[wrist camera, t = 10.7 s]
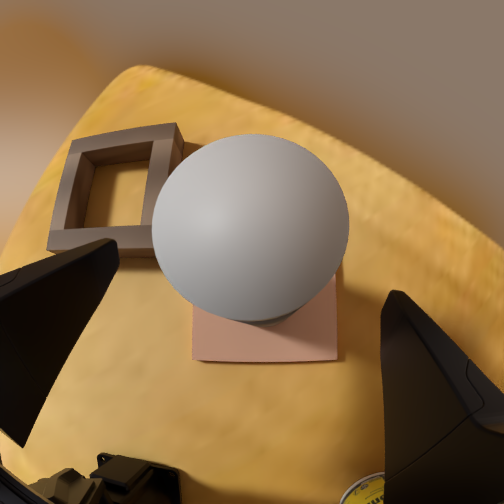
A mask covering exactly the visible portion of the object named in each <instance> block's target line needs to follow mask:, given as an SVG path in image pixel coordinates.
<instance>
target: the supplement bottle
mask: <svg viewBox="0 0 504 504" xmlns="http://www.w3.org/2000/svg"><path fill="white" fill-rule="evenodd" d="M384 475H385V472H379V473H374V474H371V475H368V476H366V477H364V478H362V479H360V480H358V481H357V482H355V483H354V484H353V485H352V486H350V487H349V488H348V490H347V491H346V492H345V493H344V495H343V496H342V498H341V501H340V504H383V495H384V483H385V482H384Z"/></svg>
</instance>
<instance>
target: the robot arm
mask: <svg viewBox="0 0 504 504" xmlns="http://www.w3.org/2000/svg"><path fill="white" fill-rule="evenodd" d="M119 264H120V258H119V252H118V245H117V242H116V240H114V239H110V238H103V239H100V240H97V241H94V242H91V243H88V244H85V245H82V246H79V247H76V248H73V249H70V250H67V251H64V252H62V253H59V254H56V255H53V256H50V257H48V258H45V259H42V260H39V261H37V262H34V263H31V264H29V265H26V266H23V267H22V268H18V269H16V270H13V271H10V272H8V273H5V274H2V275H0V431H1V432H2V433H3V434H5V435H6V436H7V437H8V438H10V439H11V440H12V441H13V442H15V443H16V444H17V445H19V446H20V447H21V448H24V446H25V444H26V442H27V439H28V437H29V435H30V433H31V430H32V428H33V426H34V424H35V422H36V419H37V417H38V415H39V413H40V411H41V409H42V407H43V405H44V403H45V401H46V397H47V396H48V394H49V392H50V390H51V388H52V386H53V384H54V382H55V380H56V379H57V377H58V375H59V373H60V371H61V369H62V367H63V365H64V364H65V362H66V360H67V358H68V356H69V355H70V353H71V351H72V349H73V347H74V346H75V344H76V342H77V340H78V339H79V337H80V335H81V334H82V332H83V330H84V329H85V327H86V325H87V324H88V322H89V320H90V319H91V317H92V315H93V314H94V312H95V310H96V309H97V307H98V306H99V304H100V302H101V300H102V299H103V297H104V295H105V293H106V291H107V289H108V287H109V285H110V283H111V281H112V279H113V277H114V275H115V273H116V271H117V269H118V267H119ZM380 359H381V372H382V385H383V401H384V426H385V475H384V482H385V483H384V495H383V504H504V394H503V393H502V392H501V391H500V390H499V389H498V388H497V387H496V386H495V385H494V384H493V383H492V382H491V381H490V380H489V379H488V378H487V377H486V376H485V375H484V373H483V372H482V371H481V370H480V369H479V368H478V367H477V366H476V365H475V364H474V363H473V362H472V360H471V359H468V356H467V355H466V354H465V353H464V352H463V351H462V350H461V349H460V348H459V347H458V346H457V344H456V343H455V342H454V341H453V340H452V339H451V338H450V337H449V336H448V335H447V334H446V333H445V332H444V331H443V330H442V329H441V328H440V327H439V326H438V325H437V324H436V323H435V322H434V321H433V320H432V319H431V318H430V317H429V316H428V315H427V314H426V313H425V312H424V311H423V310H422V309H421V308H420V307H419V306H418V305H417V304H416V303H415V302H414V301H413V300H412V299H411V298H410V297H409V296H408V295H407V294H406V293H405V292H403V291H398V290H391V291H390V292H389V294H388V297H387V299H386V301H385V304H384V306H383V308H382V311H381V346H380ZM102 457H103V458H104V459H105V461H104V460H103V458H102ZM97 462H98V469H96V470H95V471H94V472H92V473H91V474H90V475H89V476H90V479H86V478H85V477H84V476H82V475H81V474H80V473H78V472H77V471H76V470H74V469H73V468H65V469H63V470H62V471H60V472H58V473H56V474H54V475H53V476H51V477H50V478H43V479H39V480H38V482H36V483H33V484H30V485H27V484H25V483H24V482H23V481H21V480H20V479H19V478H17V477H16V476H15V475H14V474H12V473H11V472H10V471H9V470H7V469H6V468H5V467H4V466H3V465H2V460H1V455H0V504H182V495H181V484H180V474H179V471H178V470H177V469H175V468H172V467H166V466H160V465H155V464H150V463H149V462H148V461H143V460H139V459H134V458H130V457H125V456H121V455H117V456H114V455H111V454H107V453H100V454H99V455H98V456H97ZM170 472H171V473H173V474H174V475H175V476H172V475H170Z"/></svg>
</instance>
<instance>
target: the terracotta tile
mask: <svg viewBox="0 0 504 504" xmlns="http://www.w3.org/2000/svg"><path fill="white" fill-rule="evenodd" d="M192 360H206V361H233V362H292V361H319V360H337V303H336V277H335V274H334V276H333V277H332V279H331V280H330V281H329V282H328V284H327V285H326V286H325V287H324V288H323V289H322V290H321V291H320V292H319V293H318V294H317V295H316V296H315V297H314V298H312V299H311V300H310V301H309V302H307V303H306V304H305V305H304V306H302V307H301V308H300V309H299V310H297V311H296V312H295V313H294V314H292V315H291V316H290V317H289V318H287V319H286V320H285V321H283V322H281V323H279V324H277V325H274V326H270V327H257V326H252V325H249V324H245V323H241V322H238V321H234V320H230V319H227V318H223V317H220V316H217V315H214V314H211V313H209V312H206V311H204V310H202V309H201V308H199V307H197V306H195V305H193V329H192Z"/></svg>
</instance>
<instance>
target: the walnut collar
mask: <svg viewBox="0 0 504 504" xmlns="http://www.w3.org/2000/svg"><path fill="white" fill-rule="evenodd" d="M183 146H184V139H183V137H182V135H181V133H180V130H179V128H178V126H177V123H176V122H175V123H166V124H159V125H151V126H144V127H138V128H132V129H126V130H120V131H114V132H109V133H104V134H99V135H94V136H89V137H85V138H80V139H76V140H72V143H71V146H70V149H69V153H68V156H67V159H66V163H65V166H64V170H63V173H62V177H61V181H60V185H59V189H58V193H57V197H56V201H55V206H54V210H53V215H52V220H51V225H50V231H49V236H48V242H47V249H46V250H47V251H50V252H52V253H54V254H59V253H62V252H64V251H67V250H70V249H73V248H76V247H79V246H82V245H85V244H88V243H91V242H94V241H97V240H100V239H103V238H110V239H114V240H116V242H117V245H118V252H119V258H156V255H155V251H154V246H153V240H152V219H153V213H154V208H155V205H156V202H157V198H158V196H159V194H160V192H161V189H162V187H163V185H164V184H165V182H166V181H167V179H168V177H169V176H170V175H171V174H172V172H173V171H174V170H175V169H176V167H177V166H178V165H179V164H180V163H181V161H182V154H183ZM142 160H150V164H149V170H148V176H147V182H146V188H145V195H144V202H143V210H142V217H141V225H136V226H115V227H97V228H83V225H84V219H85V214H86V208H87V203H88V198H89V193H90V189H91V184H92V180H93V175H94V171H95V167H98V166H104V165H111V164H118V163H126V162H134V161H142Z"/></svg>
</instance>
